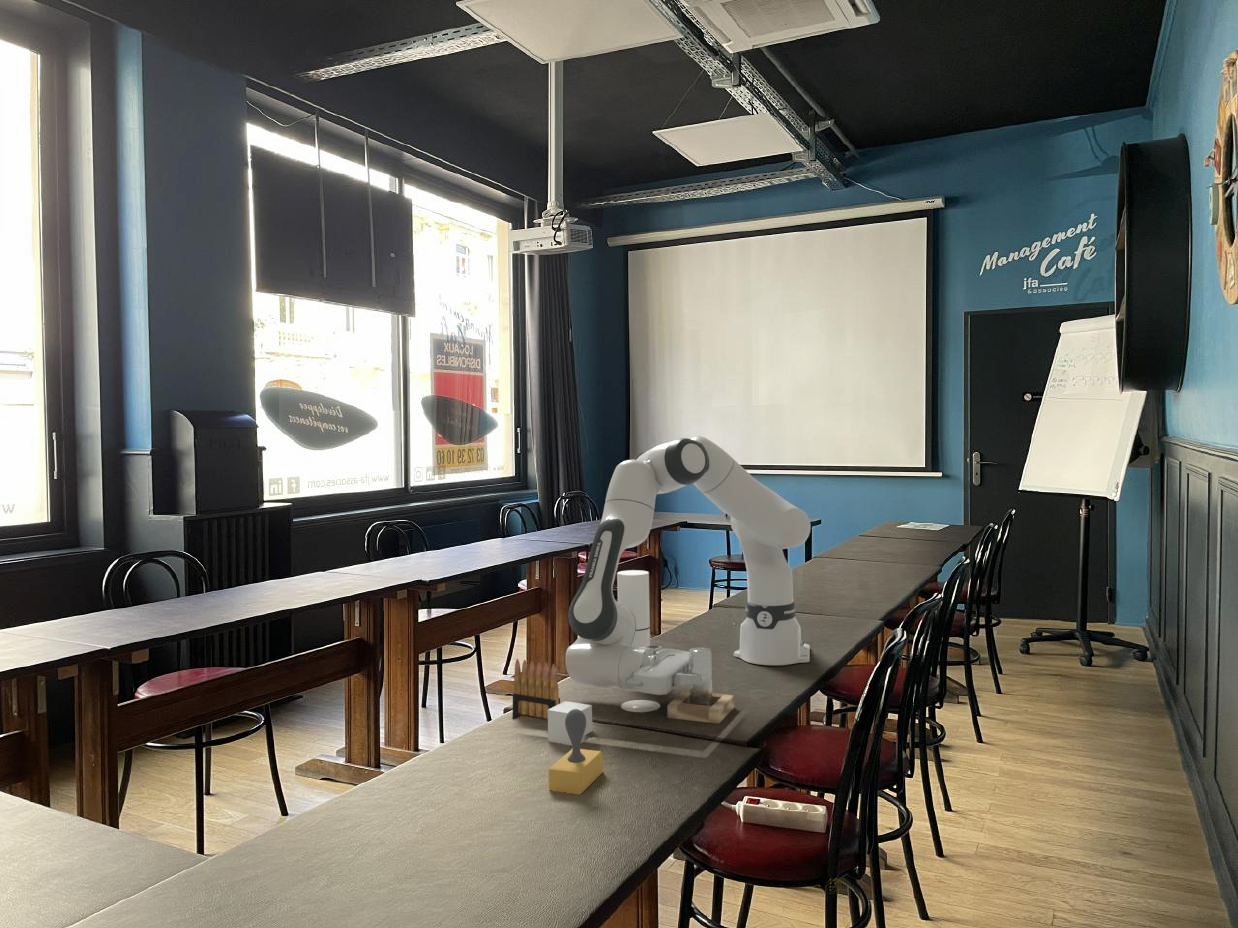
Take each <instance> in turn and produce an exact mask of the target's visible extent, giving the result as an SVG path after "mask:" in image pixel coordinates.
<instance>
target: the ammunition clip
mask: <svg viewBox="0 0 1238 928" xmlns="http://www.w3.org/2000/svg"><path fill="white" fill-rule="evenodd" d="M515 660H516V661H515V663H514V678H513V693H512V719H513V720H516V719H518V718H520V717H522V716H525V717H530V718H535V719H542V720H545V721H546V720H547V721H548V709H550V708H552V707H554V706H556V705H558V704H560V703H561V698H560V696H559V684H558V675H557V674H558V673H557V672H558V670H557V667H556V665H555V663H552V666H551V670H550V668H549V664H548V663H547V662H545V664H544V668H543V667H542V664H541V662H540V661H538V662H537V664H536V665H537V666H536V667H535V663H534V661H533V660H531V661H530V662H529V663H530V664H529V668H528V664H527V660H526V659H524V660H523V662H522V666H521V664H520V663H521V662H520V660H519V658H516V659H515Z"/></svg>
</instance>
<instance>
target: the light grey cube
mask: <svg viewBox="0 0 1238 928" xmlns="http://www.w3.org/2000/svg"><path fill="white" fill-rule="evenodd" d="M573 709H578V710H581V711H582V712H583V713H584V715H585V717H586V728H585V731H584V734H583V737H582V740H581V744H583V743H584V742H585V741H587V740H589V739H590V738H592V737H593V735H588V734H589V733H592V732H593V706H592V704H586V703H579V702H572V701H565V700H564V701H563V702H560V704H558V705H556V706H554V707H552V708H550V709H548V720H547V740H548V742H550V743H555V742H556V743H555V744H560V743H561V745H566V746H571V747H572V743H571V740H570V738H569V736H568V733H567V730H566V726H565V719H566V716H567V714H568V712H570V711H571V710H573Z"/></svg>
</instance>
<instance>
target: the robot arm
mask: <svg viewBox="0 0 1238 928" xmlns="http://www.w3.org/2000/svg"><path fill="white" fill-rule="evenodd" d="M689 485H693V486H694V487H696V488H697V490H699V491H700V492H701V494H703V495H704V496H705V497H706V498H707V499H709V500H710V502H712V503H713V504H714V505H715V506H716V507H717V508H718V509H719V510H720V511H721V512H723V513H724V514H726V515H728V516H730V527H731V530H732V531H733V532H734V534H735V535H736V537H737V539H738V542H739V544H740V547H741V551H742V555H743V559H744V564H745V568H746V583H747V601H746V602H745V616H746V618H745V620H744V621H743V622H742V623H741V624H740V630H739V649H737V650H735V651H734V652H733V657H735V658H739V659H741V660H743V661H745V662H747V663H750V664H755V665H759V666H760V665H762V666H788V665H793V664H799V663H802V664H803V663H809V662H810V660H811V656H810V654H811V647H810V646H811V645H809V644H807V643H805V641H804V640H802V632H801V631H802V630H801V629H802V628H801V626H800V624H799V621H798V620H797V618H796V615H797V614H796V613H797V612H796V611H797V610H796V609H797V608H796V601H795V599H794V588H793V587H794V583H793V581H794V578H793V577H794V575H793V573H794V572H793V570H792V567H791V565H790V564H789V563H788V561H787V559H786V557H785V554H784V551H783V550H785V549H793V548H798V547H799V546H800V547H801V546H802V545H803V544H804V543H806V541H807V539H809V536H810V533H811V528H812V527H811V521H810V518H809V516H808V514H807V513H806V511H804V510H803V509H801V508H799V507H797V506H795V505H794V504H792V503H791V502H789V501H788V500H786V499H785V498H783V497H782V496H780V495H779V494H778V493H776V492H775V491H773V490H772V489H771V488H769V487H767V486H766V485H765V484H763V483H762V482H760V481H758V480H757V479H756V478H755V477H754V476H752V475H751V473H749V472H748V471H747V470H746V469H745V468H743V466H742V465H740V463H739V462H737V461H736V460H735V459H734V458H733V457H732V456H731V455H730V454H729V453H728V452H726V451H725V450H724V449H723V448H721V447H720V446H719V445H717V444H716V443H714V442H713V441H712V440H710V439H708V438H706V437H705V436H701V435H696V436H692V437H690V438H687V437H686V438H685V437H684V438H683V437H681V438H675V439H674V440H672V441H667V442H663V443H660V444H657V445H656V446H654V447H652V448H650V449H649V450H646V451H644V452H641V453H639V454H638V455H636V456H635V457H634V458H633V459H626V460H624V461H622V462H620V463H619V464H617V465H616V467H615V469H614V471H613V474H612V477H611V478H610V482H609V485H608V488H607V491H606V496H605V500H604V501H605V503H604V505H603V506H604V507H603V512H602V516H601V521H600V524H599V525H598V527H597V529H596V532H595V534H594V538H593V541H592V544H591V547H590V553H589V555H588V559H587V561H586V562H587V563H586V566H585V569H584V574H583V578H582V581H581V584H580V586H579V588H578V589H577V592H576V593H575V595H574V596H573V599H572V601H571V602H570V605H569V608H568V611H567V613H568V615H567V617H568V624H569V626H570V628H571V630H572V631H573V632H574V634H576V636H578V638H577V639H576V640H575V641H574V642H573V643H572V644H570V645H569V646H568V647H567V649H566V651H565V656H564V657H565V658H564V659H565V660H564V664H565V665H564V666H565V669H566V672H567V675H568V676H569V678H570V679H571V681H573V682H575V683H577V684H580V685H582V686H587V687H592V688H593V687H594V688H600V689H609V688H616V689H618V690H621V691H628V692H637V693H643V694H648V695H649V694H650V695H656V696H663V695H664V696H665V695H667V694H669V693H671V691H673V690H674V689H675V688H676V687H678V686H679V687H680V686H687V685H689V686H690V684H695V685H698V684H699V683H700V682H701V675H700V674H695V673H693V674H689V650H688V651H687V650H680V649H673V648H663V646H661V645H656V644H654V645H650V646H648V647H631V645H632V642H633V638H634V635H635V630H636V621H635V617H634V615H633V614H632V612H631V611H630V610H629V609H627V608H626V607H625V606H623V605H622V604H620V603H619V602H618V600H616V599H615V597H614V592H613V589H614V587H613V586H614V582H615V580H616V576H617V571H618V567H619V564H620V559H621V556H622V553H623V552H624V551H625V550H626V549H631V548H635V547H638V546H639V545H641V544H642V543H644V542H645V541H646V540H647V539H648V537H649V534H650V532H651V530H652V526H653V520H654V514H655V508H656V507H655V506H656V497H657V496H659V495H663V494H668V493H672V492H675V491H677V490H680V489H682V488H684V487H685V486H689Z"/></svg>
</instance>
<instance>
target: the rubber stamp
mask: <svg viewBox="0 0 1238 928" xmlns="http://www.w3.org/2000/svg"><path fill="white" fill-rule="evenodd" d="M565 726H566V730H567V733H568V736H569V738H570V740H571V743H572V746H571V747H572V748H571V749H570V750H569V751H568V752H567V753H566V754H564V755H563V756H562V757H561V758H560V759H558V760H557V761H556V762H555V763H554V764H553V765H552V766H550V767H549V769H548V790H549V791H550V790H552V791H551V792H556V791H559V792H558V793H564V792H566V793H565V794H571V793H573V794H574V795H578V796H579V795H581V794H583V792H584V791H585V790H587V789H588V787H589V786H590V785H592V783H593V782H595V781H596V779H598V778H599V776H601V774H602V773H604V753H603V751H601V750H593V749H583V748H581V744H582V743H581V740H582V737H583V734H584V731H585V728H586V717H585V715H584V713H583V712H582V711H581V710H578V709H573V710H571V711H570V712H568V714H567V716H566V719H565ZM573 794H572V795H573Z"/></svg>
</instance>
